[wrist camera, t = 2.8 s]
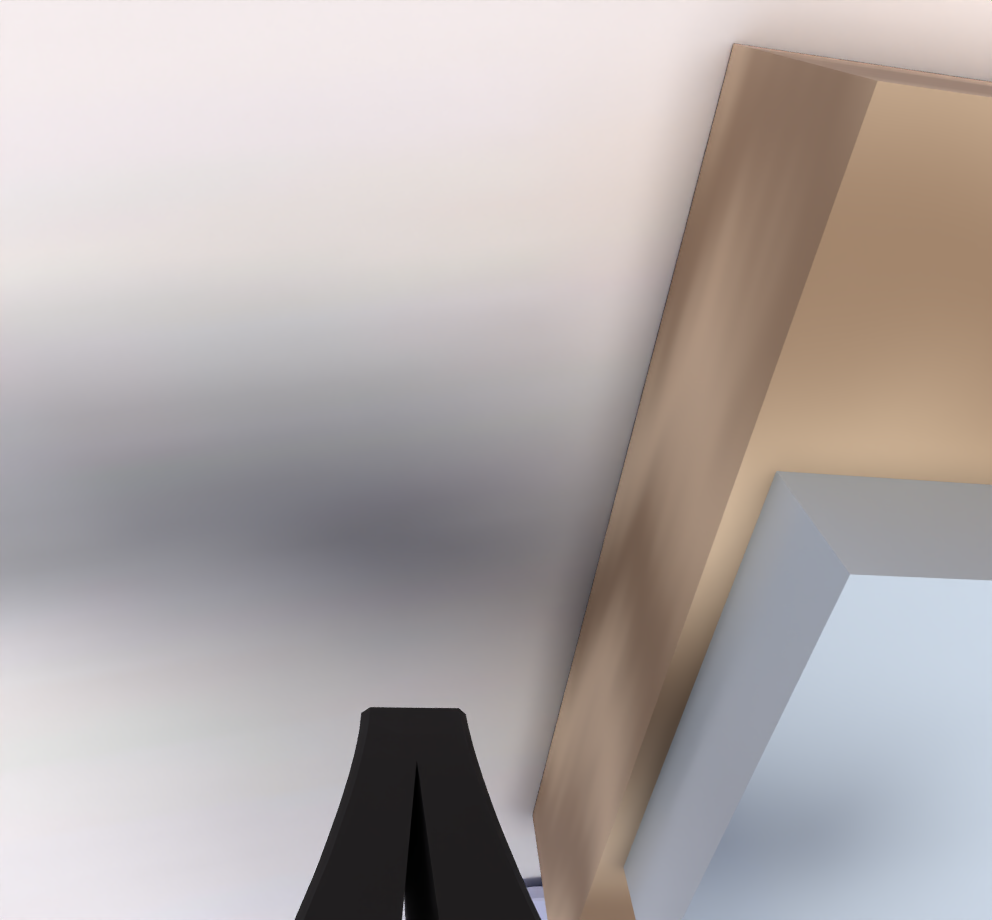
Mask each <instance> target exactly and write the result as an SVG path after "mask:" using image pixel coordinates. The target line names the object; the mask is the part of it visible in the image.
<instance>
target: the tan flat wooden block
mask: <svg viewBox="0 0 992 920" xmlns="http://www.w3.org/2000/svg"><path fill="white" fill-rule="evenodd" d="M776 471H783V472H798V473H814V474H830V475H846V476H861V477H877V478H893V479H908V480H924V481H940V482H955V483H971V484H987V485H992V82H988V81H982V80H975V79H968V78H962V77H955V76H948V75H942V74H935V73H928V72H922V71H915V70H908V69H902V68H895V67H888V66H882V65H875V64H868V63H861V62H855V61H848V60H841V59H835V58H828V57H821V56H815V55H808V54H801V53H795V52H788V51H781V50H775V49H768V48H761V47H755V46H748V45H741V44H735V43H734V44H733V48H732V52H731V56H730V59H729V63H728V67H727V71H726V75H725V79H724V82H723V86H722V90H721V94H720V98H719V102H718V106H717V109H716V113H715V117H714V121H713V125H712V129H711V132H710V136H709V140H708V144H707V148H706V152H705V155H704V159H703V163H702V167H701V171H700V175H699V178H698V182H697V186H696V190H695V194H694V198H693V201H692V205H691V209H690V213H689V217H688V221H687V224H686V228H685V232H684V236H683V240H682V244H681V248H680V251H679V255H678V259H677V263H676V267H675V271H674V274H673V278H672V282H671V286H670V290H669V294H668V297H667V301H666V305H665V309H664V313H663V317H662V320H661V324H660V328H659V332H658V336H657V340H656V343H655V347H654V351H653V355H652V359H651V363H650V366H649V370H648V374H647V378H646V382H645V386H644V389H643V393H642V397H641V401H640V405H639V409H638V413H637V416H636V420H635V424H634V428H633V432H632V436H631V439H630V443H629V447H628V451H627V455H626V459H625V462H624V466H623V470H622V474H621V478H620V482H619V485H618V489H617V493H616V497H615V501H614V505H613V508H612V512H611V516H610V520H609V524H608V528H607V531H606V535H605V539H604V543H603V547H602V551H601V555H600V558H599V562H598V566H597V570H596V574H595V578H594V581H593V585H592V589H591V593H590V597H589V601H588V604H587V608H586V612H585V616H584V620H583V624H582V627H581V631H580V635H579V639H578V643H577V647H576V650H575V654H574V658H573V662H572V666H571V670H570V673H569V677H568V681H567V685H566V689H565V693H564V697H563V700H562V704H561V708H560V712H559V716H558V720H557V723H556V727H555V731H554V735H553V739H552V743H551V746H550V750H549V754H548V758H547V762H546V766H545V769H544V773H543V777H542V781H541V785H540V789H539V792H538V796H537V800H536V804H535V808H534V812H533V821H534V828H535V835H536V842H537V849H538V856H539V863H540V870H541V877H542V885H543V892H544V899H545V906H546V913H547V920H636V919H635V914H634V910H633V906H632V902H631V897H630V893H629V889H628V884H627V880H626V876H625V872H624V864H625V862H626V859H627V857H628V854H629V852H630V849H631V846H632V844H633V841H634V839H635V836H636V833H637V831H638V828H639V826H640V823H641V820H642V818H643V815H644V813H645V810H646V807H647V805H648V802H649V800H650V797H651V795H652V792H653V789H654V787H655V784H656V782H657V779H658V776H659V774H660V771H661V769H662V766H663V763H664V761H665V758H666V756H667V753H668V750H669V748H670V745H671V743H672V740H673V738H674V735H675V732H676V730H677V727H678V725H679V722H680V719H681V717H682V714H683V712H684V709H685V706H686V704H687V701H688V699H689V696H690V694H691V691H692V688H693V686H694V683H695V681H696V678H697V675H698V673H699V670H700V668H701V665H702V662H703V660H704V657H705V655H706V652H707V649H708V647H709V644H710V642H711V639H712V637H713V634H714V631H715V629H716V626H717V624H718V621H719V618H720V616H721V613H722V611H723V608H724V605H725V603H726V600H727V598H728V595H729V592H730V590H731V587H732V585H733V582H734V580H735V577H736V574H737V572H738V569H739V567H740V564H741V561H742V559H743V556H744V554H745V551H746V548H747V546H748V543H749V541H750V538H751V535H752V533H753V530H754V528H755V525H756V523H757V520H758V517H759V515H760V512H761V510H762V507H763V504H764V502H765V499H766V497H767V494H768V491H769V489H770V486H771V484H772V481H773V478H774V476H775V473H776Z"/></svg>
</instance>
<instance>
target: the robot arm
mask: <svg viewBox="0 0 992 920" xmlns="http://www.w3.org/2000/svg"><path fill="white" fill-rule="evenodd" d="M403 902H405V917H406V920H547V913H546V906H545V899H544V892H543V886H536V887H527V888H526V886H525V883H524V881H523V879H522V877H521V874H520V872H519V870H518V867H517V865H516V862H515V860H514V858H513V855H512V853H511V850H510V848H509V846H508V843H507V841H506V838H505V836H504V833H503V831H502V829H501V826H500V824H499V821H498V818H497V816H496V813H495V810H494V808H493V805H492V802H491V799H490V797H489V794H488V791H487V788H486V785H485V782H484V779H483V777H482V773H481V770H480V767H479V764H478V761H477V758H476V754H475V751H474V747H473V744H472V740H471V736H470V732H469V728H468V723H467V718H466V714H465V713H464V712H462V711H461V710H460V709H459V708H387V707H370V708H368V709H367V710H365V711H364V712H362V713H361V721H360V729H359V735H358V740H357V745H356V750H355V754H354V758H353V762H352V766H351V769H350V773H349V776H348V780H347V783H346V786H345V789H344V793H343V796H342V799H341V802H340V806H339V808H338V811H337V814H336V817H335V819H334V822H333V825H332V828H331V831H330V833H329V836H328V839H327V842H326V844H325V847H324V850H323V853H322V855H321V858H320V861H319V863H318V866H317V868H316V871H315V873H314V876H313V878H312V880H311V883H310V885H309V887H308V890H307V892H306V894H305V897H304V899H303V902H302V904H301V906H300V909H299V911H298V913H297V916H296V918H295V920H402V912H403Z"/></svg>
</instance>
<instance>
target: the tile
mask: <svg viewBox="0 0 992 920" xmlns="http://www.w3.org/2000/svg"><path fill="white" fill-rule="evenodd" d="M624 872H625V876H626V880H627V884H628V889H629V893H630V897H631V902H632V906H633V910H634V914H635V919H636V920H992V485H987V484H971V483H955V482H940V481H924V480H908V479H893V478H877V477H861V476H846V475H830V474H814V473H798V472H783V471H776V473H775V476H774V478H773V481H772V484H771V486H770V489H769V491H768V494H767V497H766V499H765V502H764V504H763V507H762V510H761V512H760V515H759V517H758V520H757V523H756V525H755V528H754V530H753V533H752V535H751V538H750V541H749V543H748V546H747V548H746V551H745V554H744V556H743V559H742V561H741V564H740V567H739V569H738V572H737V574H736V577H735V580H734V582H733V585H732V587H731V590H730V592H729V595H728V598H727V600H726V603H725V605H724V608H723V611H722V613H721V616H720V618H719V621H718V624H717V626H716V629H715V631H714V634H713V637H712V639H711V642H710V644H709V647H708V649H707V652H706V655H705V657H704V660H703V662H702V665H701V668H700V670H699V673H698V675H697V678H696V681H695V683H694V686H693V688H692V691H691V694H690V696H689V699H688V701H687V704H686V706H685V709H684V712H683V714H682V717H681V719H680V722H679V725H678V727H677V730H676V732H675V735H674V738H673V740H672V743H671V745H670V748H669V750H668V753H667V756H666V758H665V761H664V763H663V766H662V769H661V771H660V774H659V776H658V779H657V782H656V784H655V787H654V789H653V792H652V795H651V797H650V800H649V802H648V805H647V807H646V810H645V813H644V815H643V818H642V820H641V823H640V826H639V828H638V831H637V833H636V836H635V839H634V841H633V844H632V846H631V849H630V852H629V854H628V857H627V859H626V862H625V864H624Z"/></svg>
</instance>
